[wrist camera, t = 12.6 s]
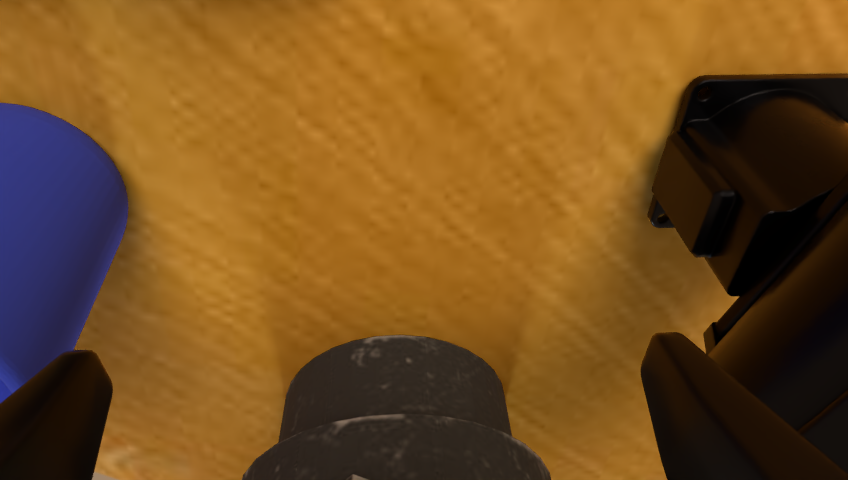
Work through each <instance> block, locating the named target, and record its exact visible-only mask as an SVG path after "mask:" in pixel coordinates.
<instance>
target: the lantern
mask: <svg viewBox="0 0 848 480" xmlns="http://www.w3.org/2000/svg"><path fill="white" fill-rule="evenodd" d="M242 480H551V477H550V473H549V471H548V469H547V468H546V466H545V464H544V463H543V461H542V460H541V458H540V457H539V456H538V455H537V454H536V453H535V452H533V451H532V450H531V449H530V448H529V447H528V446H527V445H526V444H524V443H523V442H521V441H519V440H517V439H515V438H513V437H512V434H511V429H510V423H509V418H508V412H507V407H506V402H505V396H504V392H503V387H502V383H501V381H500V380H499V378H498V376H497V375H496V373H495V371H494V370H493V369H492V368H491V367H490V366H489V365H488V364H487V363H486V362H485V361H484V360H483V359H481V358H480V357H478V356H476V355H475V354H473V353H472V352H470V351H468V350H467V349H464V348H462V347H459V346H457V345H454V344H451V343H449V342H446V341H441V340H437V339H432V338H428V337H420V336H407V335H392V336H376V337H371V338H366V339H360V340H355V341H352V342H349V343H346V344H343V345H340V346H337V347H334V348H332V349H330V350H328V351H326V352H324V353H322V354H321V355H319V356H317V357H315V358H314V359H313V360H311V361H310V362H309V363H308V364H306V365H305V366H304V367H303V368H302V369H301V370H300V371H299V372H298V374H297V375H296V376H295V378H294V379H293V380H292V381H291V384H290V387H289V389H288V392H287V395H286V400H285V406H284V412H283V418H282V424H281V430H280V436H279V442H278V443H277V444H276V445H274V446H273V447H272V448H270V449H269V450H268V451H266V452H265V453H264V454H262V455H261V456H260V457H258V458H257V459H256V460H255V461H254V462H253V464H252V465H251V466H250V467H249V469H248V470H247V471H246V472H245V474H244V475H243V478H242Z"/></svg>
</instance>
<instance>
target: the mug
mask: <svg viewBox="0 0 848 480" xmlns="http://www.w3.org/2000/svg"><path fill="white" fill-rule="evenodd" d="M127 218H128V198H127V192H126V188H125V185H124V182H123V180H122V177H121V175H120V173H119V171H118V169H117V168H116V166H115V164H114V163H113V161H112V160H111V159H110V157H109V156H108V155H107V154H106V152H105V151H104V150H103V149H102V148H101V147H100V146H99V145H98V144H97V143H96V142H95V141H94V140H92V139H91V138H90V137H89V136H88V135H86V134H85V133H84V132H82V131H81V130H79V129H78V128H76V127H75V126H73V125H71V124H70V123H68V122H66V121H64V120H62V119H60V118H58V117H56V116H54V115H51V114H49V113H47V112H44V111H41V110H38V109H35V108H31V107H27V106H23V105H17V104H8V103H0V403H1V402H2V401H4V400H5V399H6V398H7V397H9V396H10V395H11V394H12V393H13V392H15V391H16V390H17V389H18V388H20V387H21V386H22V385H23V384H24V383H26V382H27V381H28V380H29V379H31V378H32V377H33V376H34V375H35V374H37V373H38V372H39V371H40V370H42V369H43V368H44V367H45V366H47V365H48V364H49V363H50V362H51V361H53V360H54V359H55V358H56V357H58V356H59V355H60V354H62V353H64V352H66V351H72V350H74V347H75V345H76V343H77V340H78V338H79V336H80V333H81V331H82V329H83V327H84V324H85V322H86V320H87V317H88V315H89V313H90V311H91V308H92V306H93V304H94V301H95V299H96V297H97V295H98V292H99V290H100V288H101V285H102V283H103V281H104V279H105V276H106V274H107V272H108V269H109V267H110V265H111V263H112V260H113V258H114V256H115V253H116V251H117V249H118V247H119V244H120V242H121V240H122V237H123V234H124V231H125V228H126V224H127Z"/></svg>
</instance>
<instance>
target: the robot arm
mask: <svg viewBox="0 0 848 480" xmlns="http://www.w3.org/2000/svg"><path fill="white" fill-rule="evenodd" d="M704 87H708V89H707V90H706V92H705V93H704V94H702V95H698V93H699V91H700V90H701V89H702V88H704ZM652 192H653V194H654V195H653V199H652V202H651V205H650V208H649V211H648V218H649V220H650V222H651V223H652V225H653V226H655V227H657V228H675V229H676V230H677V232H678V233H679V235H680V237H681V238H682V240H683V241H684V243H685V245H686V246H687V248H688V249H689V251H690V252H691V253H692V254H693V255H694V256H695V257H696V258H697V257H704V258H705V260H706V261H707V263H708V264H709V266H710V267H711V269H712V270H713V272H714V273H715V275H716V276H717V278H718V280H719V281H720V283H721V284H722V286H723V287H724V289H725V290H726V292H727V293H728V294H729V295H730V296H740V297H739V298H738V299H737V300H736V301H735V302H734V303H733V305H732V306H731V307H730V308H729V309H728V310H727V311H726V313H725V314H724V315H723V316H722V317H721V318H720V319H719V321H718V322H713V323H712V324H711V325H710V326H709V327H708V328H707V330H706V331H705V332H704V334H703V335H704V342H705V348H706V354H705V353H704V352H703V351H702V350H701V349H700V348H698V347H697V346H696V345H695V344H694V343H692V342H691V341H690V340H689V339H688V338H686V337H685V336H684V335H682V334H680V333H677V332H669V333H656V334H655V335H653V336H652V338H651V340H650V343H649V346H648V348H647V351H646V353H645V356H644V359H643V361H642V365H641V378H642V383H643V387H644V391H645V395H646V399H647V404H648V408H649V412H650V416H651V420H652V424H653V429H654V433H655V437H656V441H657V445H658V449H659V453H660V457H661V461H662V464H663V467H664V471H665V474H666V477H667V480H848V74H773V75H704V76H699V77H697V78H696V79H694V80H693V81H692V82H691V83H690V84H689V86H688V88H687V90H686V93H685V96H684V99H683V103H682V106H681V109H680V112H679V115H678V119H677V122H676V125H675V128H674V131H673V132H672V133H671V135H670V136H669V137H668V138H667V142H666V145H665V148H664V151H663V155H662V158H661V161H660V164H659V168H658V171H657V174H656V177H655V181H654V184H653V187H652ZM664 213H665V215H663V216H662V217H659V218H658V216H659V215H661V214H664ZM112 393H113V386H112V382H111V379H110V378H109V376H108V374H107V372H106V370H105V368H104V366H103V365H102V363H101V361H100V359H99V357H98V355H97V354H96V353H95V352H93V351H92V350H72V351H66V352H64V353H62V354H60V355H59V356H58V357H56V358H55V359H54V360H53V361H51V362H50V363H49V364H48V365H47V366H45V367H44V368H43V369H42V370H40V371H39V372H38V373H37V374H35V375H34V376H33V377H32V378H31V379H29V380H28V381H27V382H26V383H24V384H23V385H22V386H21V387H20V388H18V389H17V390H16V391H15V392H13V393H12V394H11V395H10V396H9V397H7V398H6V399H5V400H4V401H2V402H1V403H0V480H92V477H93V473H94V469H95V465H96V461H97V457H98V453H99V449H100V444H101V440H102V436H103V432H104V428H105V424H106V420H107V415H108V411H109V407H110V403H111V399H112Z"/></svg>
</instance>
